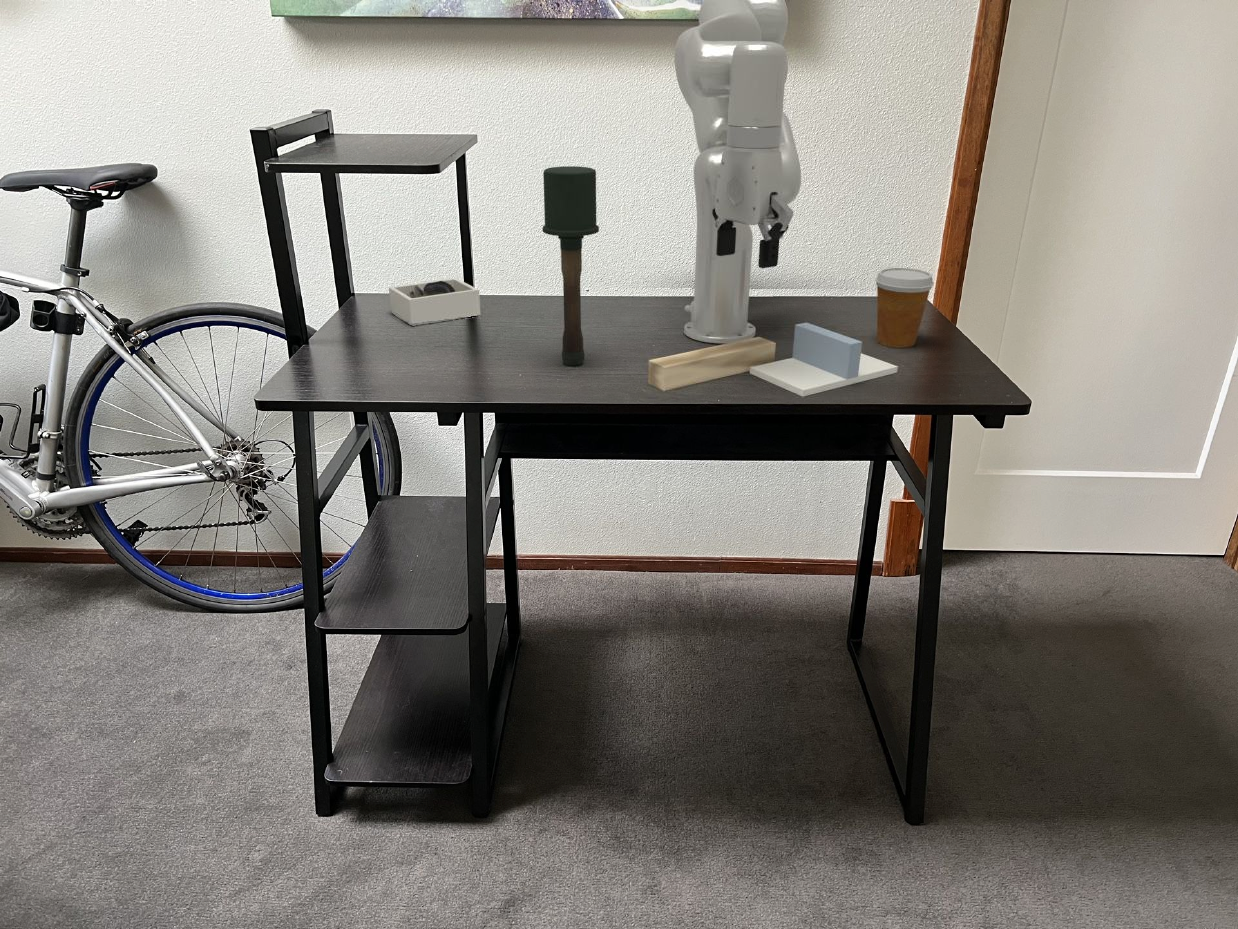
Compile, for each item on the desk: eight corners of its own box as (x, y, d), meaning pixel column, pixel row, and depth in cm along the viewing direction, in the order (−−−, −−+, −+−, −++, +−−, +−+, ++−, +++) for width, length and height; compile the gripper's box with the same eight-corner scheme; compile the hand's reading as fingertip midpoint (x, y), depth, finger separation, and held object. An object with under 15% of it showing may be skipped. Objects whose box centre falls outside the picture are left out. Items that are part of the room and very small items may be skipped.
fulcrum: (749, 373, 143) (752, 333, 140) (841, 352, 152) (846, 314, 150) (802, 396, 134) (806, 354, 131) (896, 372, 143) (902, 332, 141)
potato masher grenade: (607, 357, 149) (606, 167, 136) (588, 374, 142) (586, 174, 129) (559, 352, 152) (554, 164, 139) (538, 368, 144) (531, 171, 132)
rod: (648, 385, 139) (648, 360, 137) (757, 360, 150) (759, 336, 148) (663, 393, 136) (664, 367, 134) (773, 366, 147) (775, 342, 145)
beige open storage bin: (391, 313, 173) (388, 287, 170) (457, 303, 179) (456, 278, 177) (411, 327, 164) (409, 299, 162) (480, 316, 171) (479, 289, 169)
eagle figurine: (410, 315, 166) (458, 305, 167) (403, 278, 167) (451, 268, 167) (419, 327, 174) (465, 317, 174) (411, 291, 175) (457, 282, 175)
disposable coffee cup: (856, 338, 160) (864, 270, 155) (899, 331, 163) (908, 265, 158) (892, 353, 152) (901, 282, 147) (936, 346, 155) (947, 277, 150)
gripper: (695, 135, 133) (691, 253, 140) (774, 145, 120) (765, 275, 127) (735, 133, 137) (729, 248, 144) (816, 143, 123) (805, 268, 131)
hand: (746, 260), depth 135 cm, fingers open, 9 cm apart
